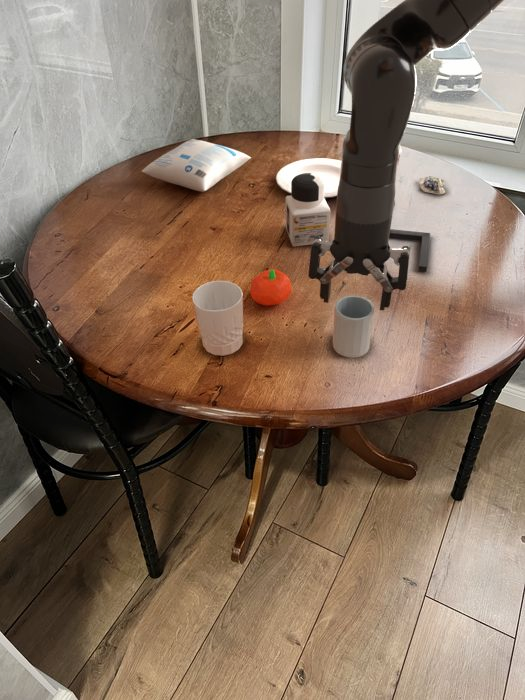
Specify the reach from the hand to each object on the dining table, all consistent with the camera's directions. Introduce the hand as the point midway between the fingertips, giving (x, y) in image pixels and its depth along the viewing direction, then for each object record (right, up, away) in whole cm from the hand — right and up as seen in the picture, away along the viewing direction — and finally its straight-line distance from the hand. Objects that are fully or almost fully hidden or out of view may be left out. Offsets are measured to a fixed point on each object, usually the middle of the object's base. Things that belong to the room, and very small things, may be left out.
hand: (354, 303), depth 83 cm
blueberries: (+26, +31, +45) cm, 61 cm away
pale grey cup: (0, -6, +6) cm, 9 cm away
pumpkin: (-13, +2, +16) cm, 21 cm away
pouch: (-30, +36, +53) cm, 71 cm away
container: (-5, +17, +32) cm, 36 cm away
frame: (+12, +12, +26) cm, 31 cm away
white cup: (-21, -6, +8) cm, 23 cm away
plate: (0, +33, +49) cm, 59 cm away
